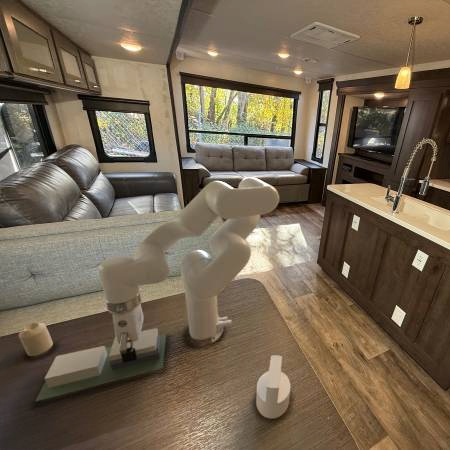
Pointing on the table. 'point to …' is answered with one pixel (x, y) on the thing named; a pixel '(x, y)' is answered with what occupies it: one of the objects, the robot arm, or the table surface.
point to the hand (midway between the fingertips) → (133, 346)
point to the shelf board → (105, 375)
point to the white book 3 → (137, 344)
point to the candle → (35, 339)
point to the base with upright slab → (273, 390)
